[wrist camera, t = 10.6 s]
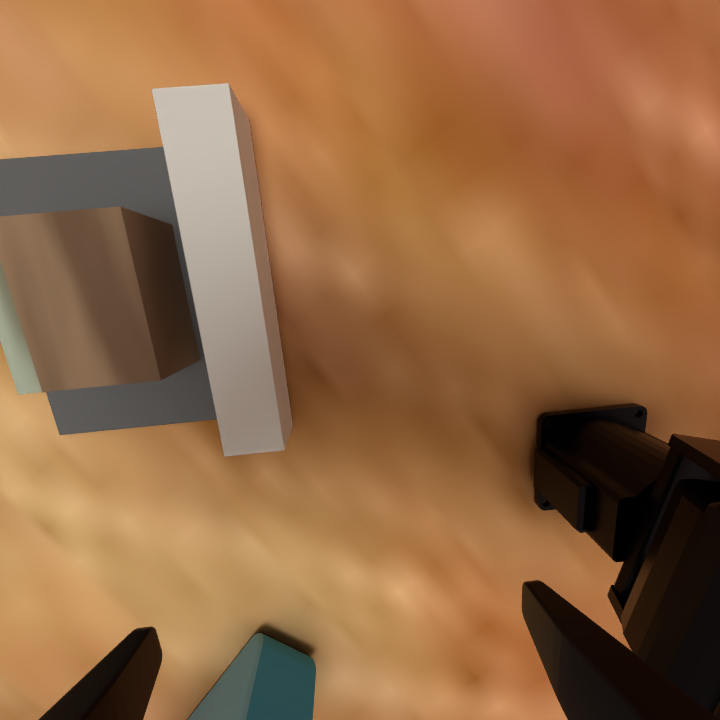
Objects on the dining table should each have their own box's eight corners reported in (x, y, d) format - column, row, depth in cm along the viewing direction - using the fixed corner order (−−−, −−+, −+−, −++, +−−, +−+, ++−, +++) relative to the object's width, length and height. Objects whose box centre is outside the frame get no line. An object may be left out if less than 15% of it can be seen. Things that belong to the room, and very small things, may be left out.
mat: (190, 147, 16) (188, 145, 16) (239, 415, 19) (237, 417, 19) (-20, 163, 16) (-27, 161, 16) (63, 432, 19) (59, 435, 19)
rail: (249, 119, 16) (228, 83, 13) (292, 425, 20) (284, 450, 17) (186, 124, 16) (151, 88, 13) (242, 430, 20) (224, 456, 17)
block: (119, 206, 13) (-41, 219, 13) (160, 380, 14) (18, 394, 14) (172, 224, 17) (50, 235, 16) (199, 360, 18) (88, 370, 18)
